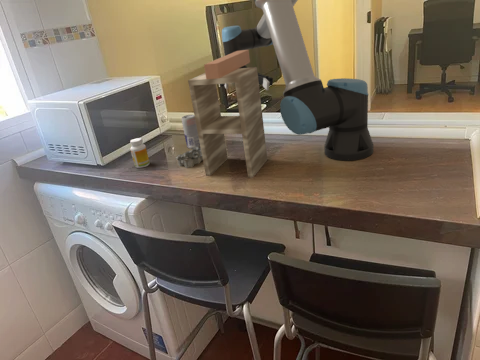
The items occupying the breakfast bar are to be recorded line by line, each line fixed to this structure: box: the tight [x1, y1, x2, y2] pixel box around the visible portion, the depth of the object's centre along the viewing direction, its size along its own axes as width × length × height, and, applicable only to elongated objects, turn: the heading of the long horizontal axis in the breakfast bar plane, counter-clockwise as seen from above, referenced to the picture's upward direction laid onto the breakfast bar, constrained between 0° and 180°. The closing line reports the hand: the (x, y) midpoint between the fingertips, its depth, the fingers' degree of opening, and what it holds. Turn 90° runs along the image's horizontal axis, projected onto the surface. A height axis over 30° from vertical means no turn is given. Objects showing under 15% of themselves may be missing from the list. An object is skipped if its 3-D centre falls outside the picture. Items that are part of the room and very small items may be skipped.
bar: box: [203, 49, 251, 79], centre depth 114 cm, size 4×24×4 cm, turn 158°
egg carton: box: [175, 147, 203, 169], centre depth 133 cm, size 11×8×4 cm
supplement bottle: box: [129, 137, 151, 169], centre depth 135 cm, size 5×5×10 cm
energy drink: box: [181, 114, 200, 150], centre depth 146 cm, size 5×5×12 cm
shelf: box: [187, 66, 268, 179], centre depth 117 cm, size 16×14×30 cm
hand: (247, 85), depth 125 cm, fingers open, 13 cm apart
